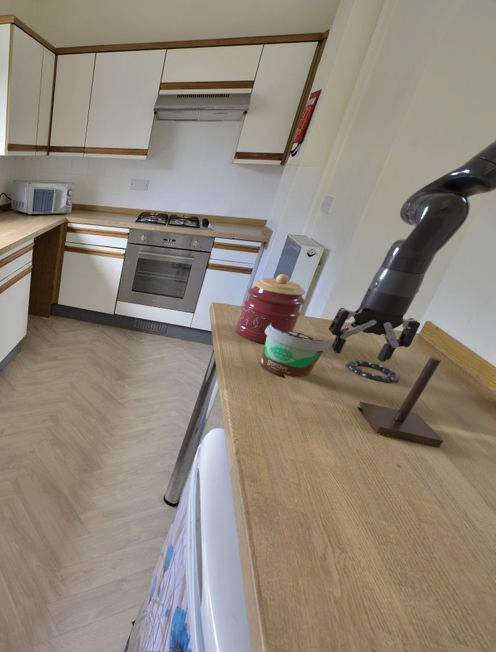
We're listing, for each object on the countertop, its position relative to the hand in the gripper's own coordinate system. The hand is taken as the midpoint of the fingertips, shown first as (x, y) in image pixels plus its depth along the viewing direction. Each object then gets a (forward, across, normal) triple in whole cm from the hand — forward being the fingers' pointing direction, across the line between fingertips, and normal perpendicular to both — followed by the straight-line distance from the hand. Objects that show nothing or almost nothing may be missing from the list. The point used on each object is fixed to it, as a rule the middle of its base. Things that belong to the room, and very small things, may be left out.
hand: (357, 356), depth 95 cm
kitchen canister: (+4, +16, -14) cm, 22 cm away
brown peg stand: (+4, 0, +23) cm, 23 cm away
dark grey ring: (+3, -4, 0) cm, 5 cm away
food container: (+4, +16, +9) cm, 19 cm away
